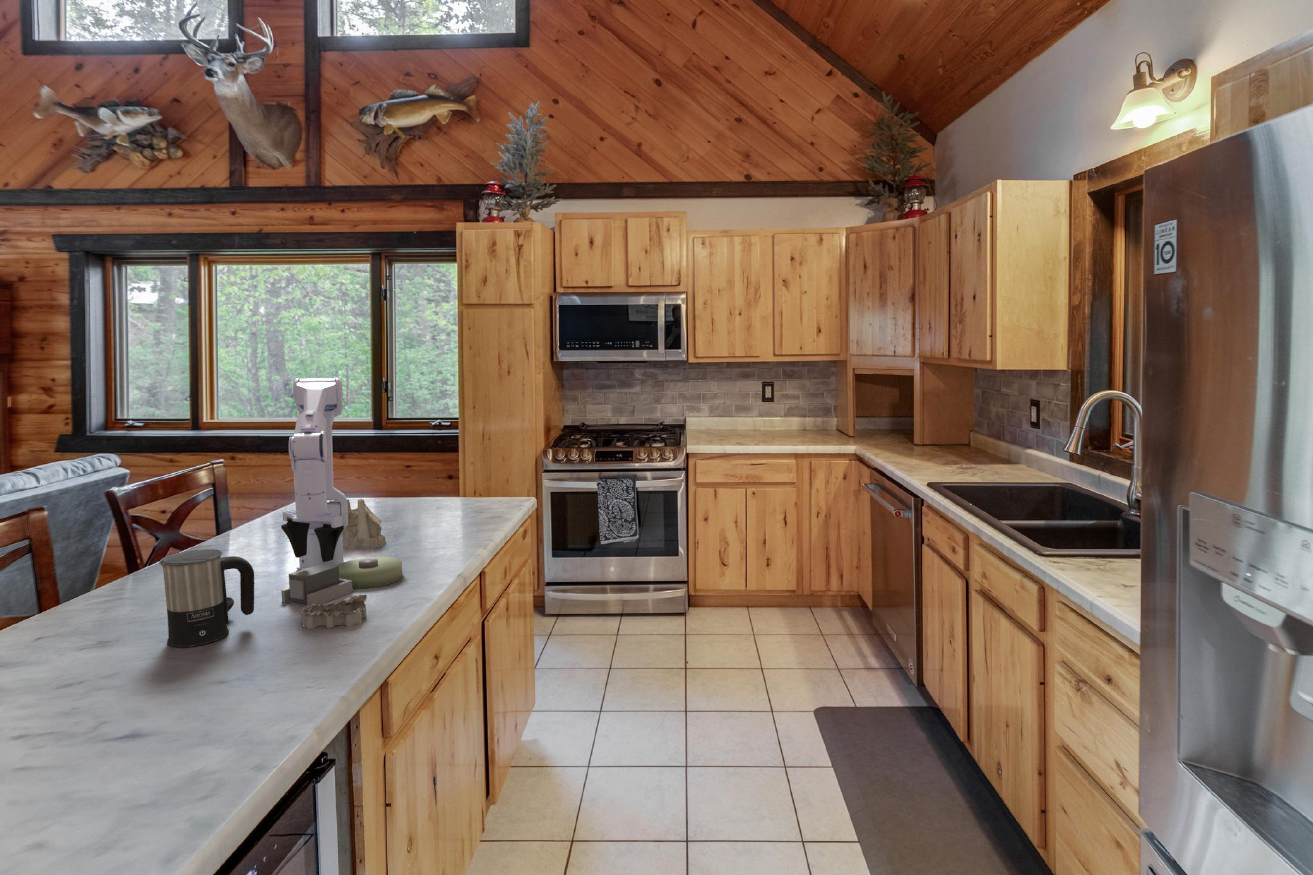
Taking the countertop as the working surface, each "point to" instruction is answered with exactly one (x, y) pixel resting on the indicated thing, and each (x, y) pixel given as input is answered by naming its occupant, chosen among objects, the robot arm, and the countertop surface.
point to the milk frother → (202, 595)
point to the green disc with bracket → (356, 578)
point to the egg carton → (335, 612)
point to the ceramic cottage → (362, 528)
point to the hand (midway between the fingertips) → (314, 558)
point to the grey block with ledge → (311, 581)
